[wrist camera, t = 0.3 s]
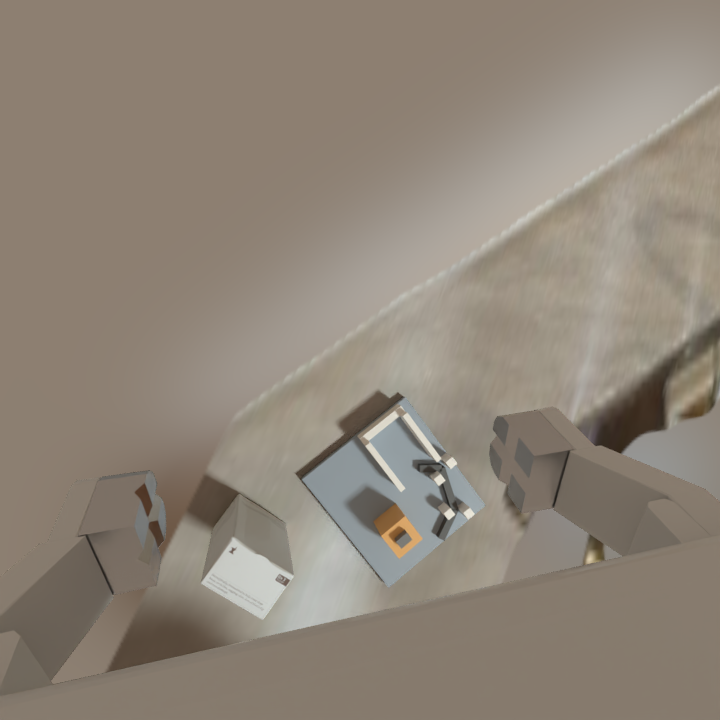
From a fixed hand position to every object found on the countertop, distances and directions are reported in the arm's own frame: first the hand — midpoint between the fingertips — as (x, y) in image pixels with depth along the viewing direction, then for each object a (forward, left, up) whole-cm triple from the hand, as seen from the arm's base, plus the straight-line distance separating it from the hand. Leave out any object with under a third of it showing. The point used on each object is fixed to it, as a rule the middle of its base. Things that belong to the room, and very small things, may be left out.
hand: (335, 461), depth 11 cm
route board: (-24, -1, -53) cm, 58 cm away
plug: (-27, +2, -52) cm, 58 cm away
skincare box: (-15, +17, -53) cm, 58 cm away
